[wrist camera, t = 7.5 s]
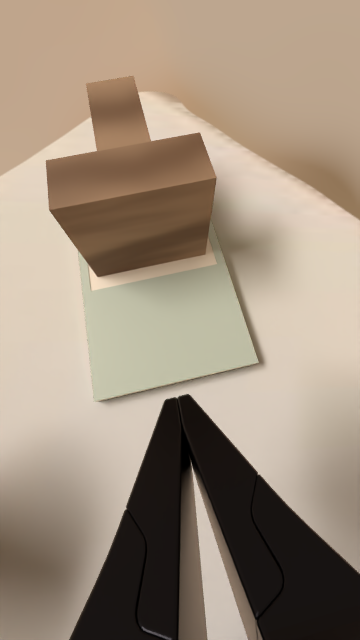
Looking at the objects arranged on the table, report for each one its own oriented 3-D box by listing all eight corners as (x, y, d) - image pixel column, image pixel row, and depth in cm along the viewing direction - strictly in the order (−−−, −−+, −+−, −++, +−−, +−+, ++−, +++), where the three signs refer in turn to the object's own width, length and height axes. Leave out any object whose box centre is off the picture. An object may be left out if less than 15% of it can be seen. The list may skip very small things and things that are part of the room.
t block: (205, 254, 22) (216, 177, 14) (97, 277, 21) (49, 209, 14) (178, 167, 25) (176, 68, 18) (85, 185, 25) (41, 91, 17)
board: (255, 364, 20) (258, 362, 19) (98, 401, 19) (94, 401, 18) (190, 166, 27) (190, 158, 26) (74, 188, 26) (70, 180, 25)
